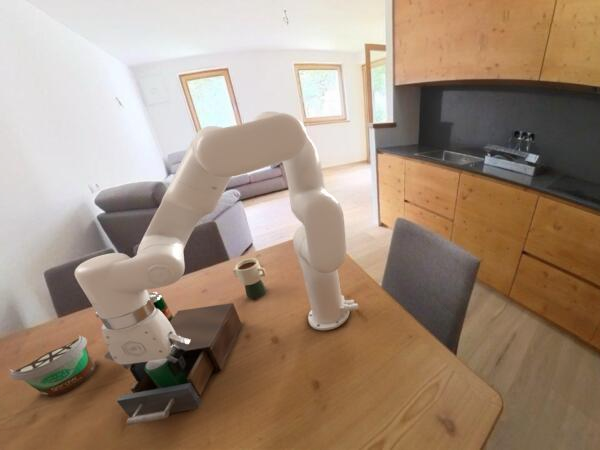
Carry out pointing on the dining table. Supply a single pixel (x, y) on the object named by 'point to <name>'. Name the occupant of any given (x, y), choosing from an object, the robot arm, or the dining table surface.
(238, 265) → the character mug
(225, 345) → the cabinet
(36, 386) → the food container
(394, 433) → the dining table surface
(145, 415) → the drawer
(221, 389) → the dining table surface
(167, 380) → the can
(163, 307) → the soda can
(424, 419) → the dining table surface
